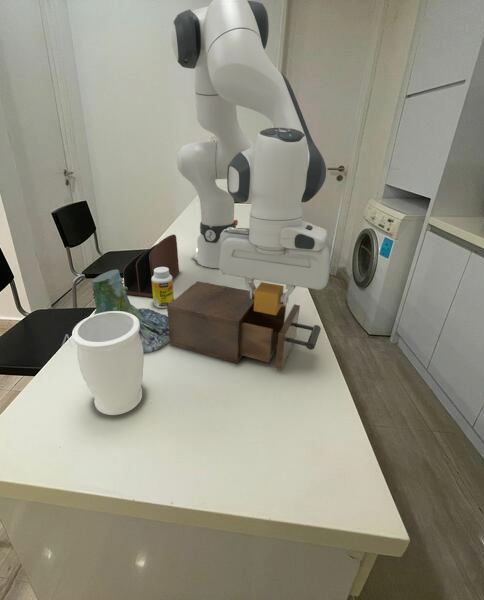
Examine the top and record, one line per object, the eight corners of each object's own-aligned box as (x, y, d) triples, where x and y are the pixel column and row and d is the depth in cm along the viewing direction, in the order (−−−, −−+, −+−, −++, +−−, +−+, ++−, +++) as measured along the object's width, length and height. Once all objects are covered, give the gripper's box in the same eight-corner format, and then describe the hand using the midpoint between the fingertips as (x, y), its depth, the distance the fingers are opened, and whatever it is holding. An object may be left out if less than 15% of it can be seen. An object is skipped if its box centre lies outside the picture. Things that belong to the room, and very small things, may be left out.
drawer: (319, 342, 70) (325, 309, 67) (308, 377, 60) (314, 341, 57) (233, 322, 79) (234, 292, 75) (211, 350, 69) (210, 318, 65)
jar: (129, 428, 53) (116, 351, 46) (76, 412, 56) (56, 338, 49) (158, 384, 62) (150, 314, 55) (110, 373, 65) (98, 306, 58)
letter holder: (179, 272, 110) (177, 231, 104) (156, 298, 94) (151, 250, 87) (152, 270, 113) (148, 229, 107) (124, 294, 97) (118, 248, 90)
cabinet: (258, 330, 77) (261, 292, 73) (237, 363, 66) (238, 321, 62) (198, 316, 84) (197, 281, 79) (169, 344, 73) (166, 305, 69)
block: (260, 301, 68) (261, 282, 66) (281, 305, 66) (283, 285, 64) (253, 310, 65) (254, 290, 63) (275, 315, 63) (277, 294, 61)
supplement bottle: (159, 311, 87) (156, 275, 82) (150, 303, 91) (146, 268, 87) (177, 305, 90) (175, 270, 85) (167, 297, 94) (165, 263, 89)
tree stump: (167, 362, 68) (136, 287, 60) (84, 372, 74) (45, 305, 66) (183, 314, 84) (160, 249, 76) (114, 326, 89) (85, 266, 81)
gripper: (213, 230, 60) (213, 297, 67) (332, 242, 52) (319, 318, 58) (226, 222, 65) (225, 285, 72) (337, 232, 57) (325, 303, 63)
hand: (268, 300), depth 65 cm, fingers closed on block, 4 cm apart
